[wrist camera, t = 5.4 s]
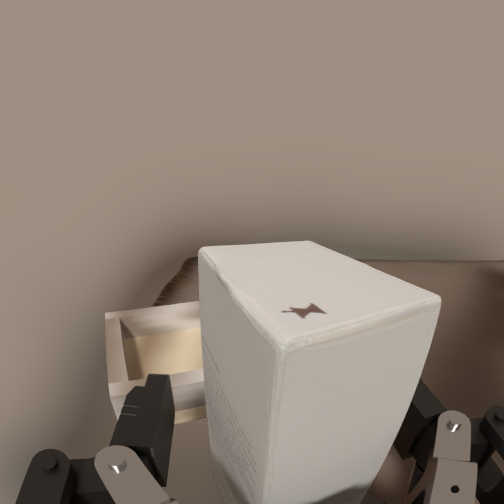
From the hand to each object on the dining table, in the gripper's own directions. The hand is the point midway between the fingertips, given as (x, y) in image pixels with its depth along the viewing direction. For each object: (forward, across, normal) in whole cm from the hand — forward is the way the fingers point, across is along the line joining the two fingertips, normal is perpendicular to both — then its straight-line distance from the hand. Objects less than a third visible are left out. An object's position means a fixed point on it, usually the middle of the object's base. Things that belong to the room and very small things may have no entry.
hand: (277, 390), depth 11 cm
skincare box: (-2, 0, +7) cm, 7 cm away
